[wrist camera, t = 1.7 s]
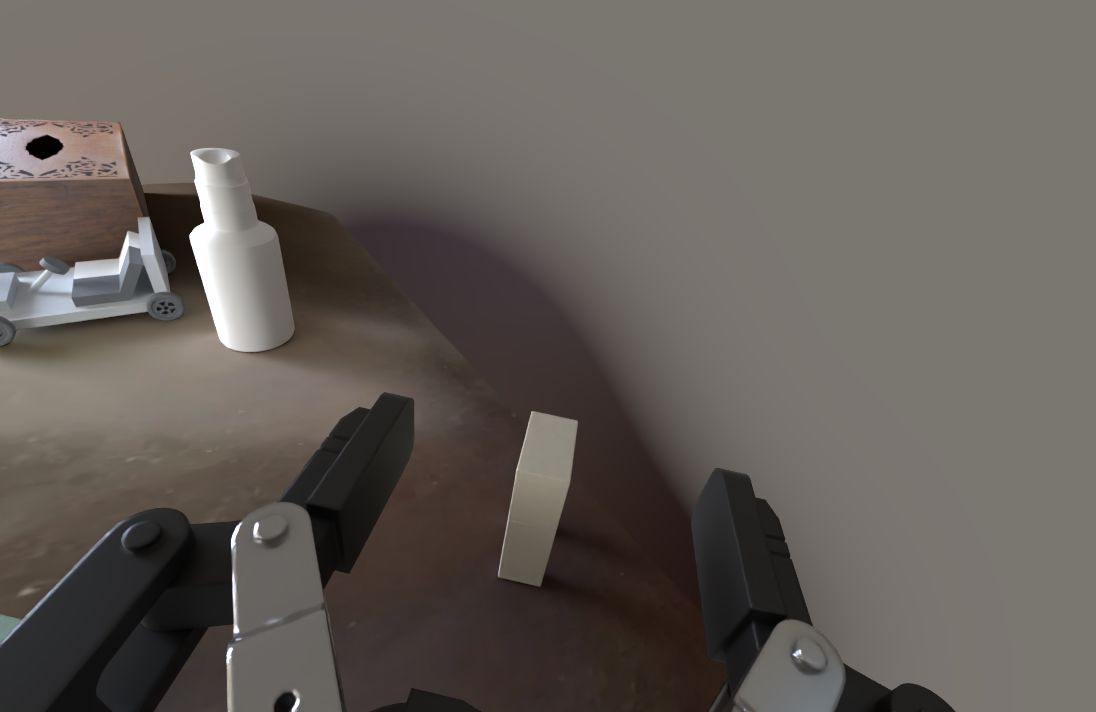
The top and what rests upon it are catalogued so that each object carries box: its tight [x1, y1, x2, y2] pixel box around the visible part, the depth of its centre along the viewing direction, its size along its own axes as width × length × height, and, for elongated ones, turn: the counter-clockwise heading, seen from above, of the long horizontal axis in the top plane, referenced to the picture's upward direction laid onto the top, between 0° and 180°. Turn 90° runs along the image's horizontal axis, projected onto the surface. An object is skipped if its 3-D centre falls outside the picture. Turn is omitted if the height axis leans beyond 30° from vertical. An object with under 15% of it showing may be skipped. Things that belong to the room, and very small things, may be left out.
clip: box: [498, 411, 578, 587], centre depth 31 cm, size 5×3×11 cm, turn 172°
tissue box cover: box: [0, 119, 149, 273], centre depth 58 cm, size 26×14×10 cm, turn 37°
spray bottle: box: [190, 148, 295, 352], centre depth 44 cm, size 7×7×18 cm
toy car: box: [0, 217, 184, 346], centre depth 45 cm, size 18×10×12 cm
